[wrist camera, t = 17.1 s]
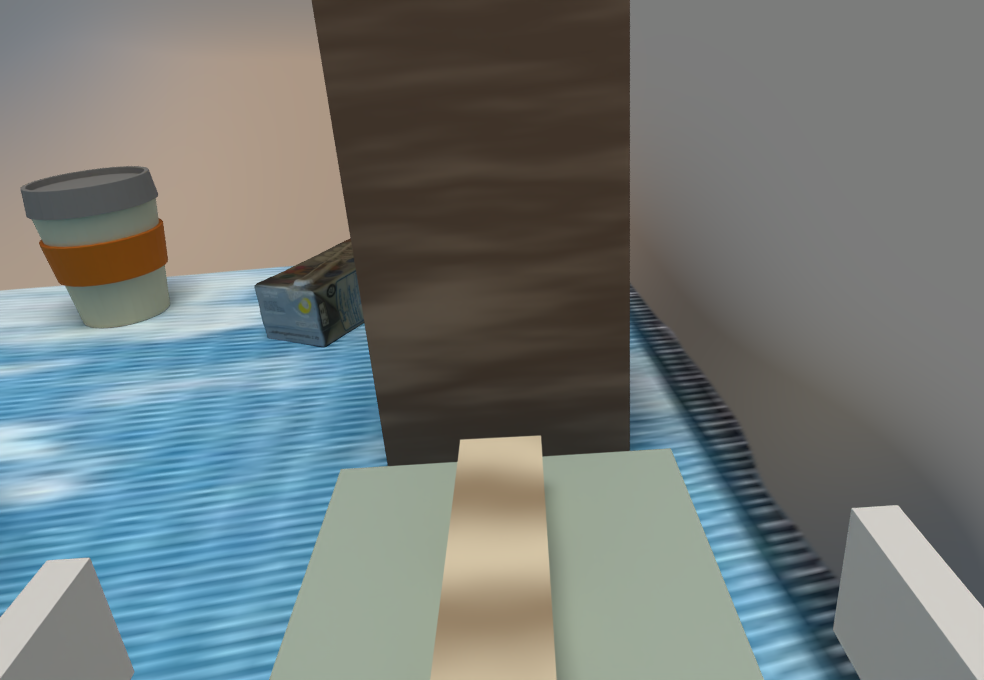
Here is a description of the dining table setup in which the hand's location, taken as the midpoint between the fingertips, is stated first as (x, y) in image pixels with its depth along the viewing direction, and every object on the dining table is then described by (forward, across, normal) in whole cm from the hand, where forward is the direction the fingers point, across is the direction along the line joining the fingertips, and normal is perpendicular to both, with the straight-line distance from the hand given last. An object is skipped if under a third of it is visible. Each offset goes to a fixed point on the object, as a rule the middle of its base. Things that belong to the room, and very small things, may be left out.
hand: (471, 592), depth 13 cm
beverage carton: (+61, -16, -18) cm, 66 cm away
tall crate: (+37, 0, -18) cm, 41 cm away
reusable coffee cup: (+65, -42, -18) cm, 80 cm away
